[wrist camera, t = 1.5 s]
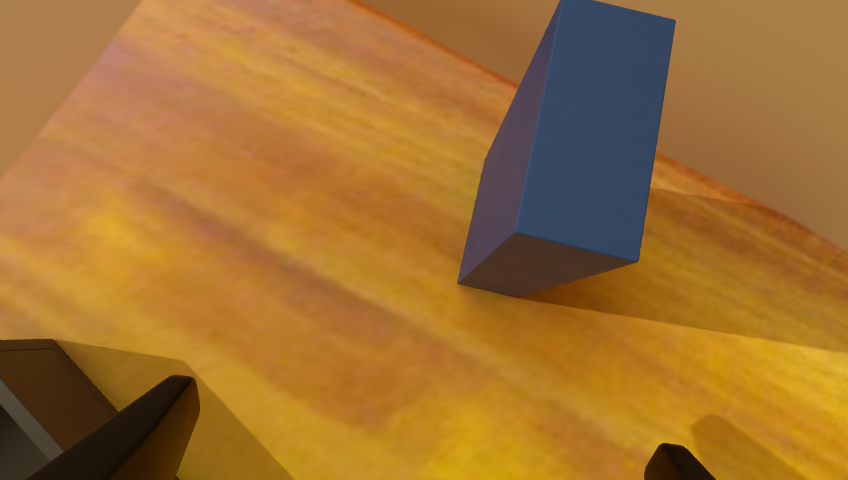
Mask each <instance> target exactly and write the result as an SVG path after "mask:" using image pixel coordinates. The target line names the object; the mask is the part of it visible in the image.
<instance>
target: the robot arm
mask: <svg viewBox="0 0 848 480" xmlns="http://www.w3.org/2000/svg"><path fill="white" fill-rule="evenodd" d="M199 412H200V401H199V395H198V389H197V383H196V380H195V379H194V378H193V377H190V376H183V375H172V376H169V377H168V378H166V379H165V380H163V381H162V382H161V383H159V384H158V385H156V386H155V387H154V388H152V389H151V390H149V391H148V392H147V393H145V394H144V395H142V396H141V397H140V398H138V399H137V400H135V401H134V402H133V403H131V404H130V405H128V406H127V407H126V408H124V409H123V410H121V411H120V412H119V413H117V414H116V415H114V416H113V417H112V418H110V419H109V420H107V421H106V422H105V423H103V424H102V425H100V426H99V427H98V428H96V429H95V430H93V431H92V432H91V433H89V434H88V435H86V436H85V437H84V438H82V439H81V440H79V441H78V442H77V443H75V444H74V445H72V446H71V447H70V448H68V449H67V450H65V451H64V452H63V453H61V454H60V455H58V456H57V457H56V458H54V459H53V460H51V461H50V462H49V463H47V464H46V465H44V466H43V467H42V468H40V469H39V470H37V471H36V472H35V473H33V474H32V475H30V476H29V477H28V478H26V479H25V480H174V478H175V476H176V473H177V471H178V468H179V466H180V463H181V460H182V458H183V455H184V453H185V450H186V448H187V445H188V442H189V440H190V437H191V435H192V432H193V429H194V427H195V424H196V422H197V419H198V416H199ZM644 480H716V479H715V478H714V477H713V476H712V475H711V474H710V473H709V472H708V471H707V469H706V468H705V467H704V466H703V465H702V464H701V463H700V462H699V461H698V460H697V459H696V458H695V457H694V456H693V454H692V453H691V452H690V451H689V450H688V449H686V448H685V447H684V446H681V445H676V444H669V443H662V444H660V445H659V446H658V448H657V449H656V451H655V453H654V454H653V456H652V458H651V459H650V461H649V463H648V464H647V466H646V468H645V473H644Z"/></svg>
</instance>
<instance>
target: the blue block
mask: <svg viewBox="0 0 848 480" xmlns="http://www.w3.org/2000/svg"><path fill="white" fill-rule="evenodd" d="M675 23H676V21H675V20H673V19H669V18H665V17H661V16H656V15H653V14H649V13H644V12H640V11H635V10H632V9H627V8H623V7H619V6H615V5H610V4H606V3H602V2H598V1H594V0H560V2H559V4H558V6H557V8H556V10H555V13H554V15H553V16H552V19H551V21H550V23H549V25H548V27H547V29H546V31H545V33H544V36H543V38H542V40H541V42H540V44H539V46H538V48H537V50H536V53H535V55H534V57H533V59H532V61H531V63H530V65H529V67H528V69H527V72H526V74H525V76H524V78H523V80H522V82H521V84H520V86H519V88H518V91H517V93H516V95H515V97H514V99H513V101H512V103H511V105H510V108H509V110H508V112H507V114H506V116H505V118H504V120H503V122H502V124H501V127H500V129H499V131H498V133H497V135H496V137H495V139H494V141H493V143H492V146H491V148H490V150H489V152H488V154H487V156H486V158H485V162H484V166H483V170H482V175H481V179H480V184H479V188H478V193H477V197H476V202H475V206H474V210H473V215H472V219H471V224H470V228H469V233H468V237H467V242H466V246H465V251H464V255H463V259H462V264H461V268H460V273H459V277H458V282H457V283H458V284H462V285H466V286H470V287H474V288H478V289H482V290H487V291H491V292H495V293H499V294H503V295H507V296H512V297H516V298H518V297H521V296H525V295H528V294H532V293H535V292H538V291H542V290H545V289H548V288H552V287H555V286H559V285H562V284H565V283H569V282H572V281H576V280H579V279H582V278H586V277H589V276H593V275H596V274H599V273H603V272H606V271H609V270H613V269H616V268H620V267H623V266H626V265H630V264H633V263H637V262H638V260H639V254H640V248H641V241H642V235H643V228H644V222H645V216H646V209H647V203H648V196H649V190H650V183H651V177H652V171H653V164H654V158H655V151H656V145H657V138H658V132H659V126H660V119H661V112H662V106H663V100H664V94H665V87H666V81H667V74H668V68H669V61H670V55H671V48H672V42H673V36H674V29H675Z"/></svg>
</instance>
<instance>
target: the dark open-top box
mask: <svg viewBox="0 0 848 480" xmlns="http://www.w3.org/2000/svg"><path fill="white" fill-rule="evenodd" d="M117 413H118V412H117V410H116V409H115V408H114V407H113V406H112V405H111V404H110V403H109V402H108V400H107V399H106V398H105V397H104V396H103V395H102V394H101V393H100V392H99V390H98V389H97V388H96V387H95V386H94V385H93V384H92V383H91V382H90V380H89V379H88V378H87V377H86V376H85V375H84V374H83V373H82V372H81V370H80V369H79V368H78V367H77V366H76V365H75V364H74V363H73V361H72V360H71V359H70V358H69V357H68V356H67V355H66V354H65V353H64V351H63V350H62V349H61V348H60V347H59V346H58V345H57V344H56V343H55V341H54V340H53V339H24V340H0V480H25V479H26V478H28V477H29V476H30V475H32V474H33V473H35V472H36V471H37V470H39V469H40V468H42V467H43V466H44V465H46V464H47V463H49V462H50V461H51V460H53V459H54V458H56V457H57V456H58V455H60V454H61V453H63V452H64V451H65V450H67V449H68V448H70V447H71V446H72V445H74V444H75V443H77V442H78V441H79V440H81V439H82V438H84V437H85V436H86V435H88V434H89V433H91V432H92V431H93V430H95V429H96V428H98V427H99V426H100V425H102V424H103V423H105V422H106V421H107V420H109V419H110V418H112V417H113V416H114V415H116V414H117ZM174 480H179V479H178V478H177V477H176V476H175V478H174Z"/></svg>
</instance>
